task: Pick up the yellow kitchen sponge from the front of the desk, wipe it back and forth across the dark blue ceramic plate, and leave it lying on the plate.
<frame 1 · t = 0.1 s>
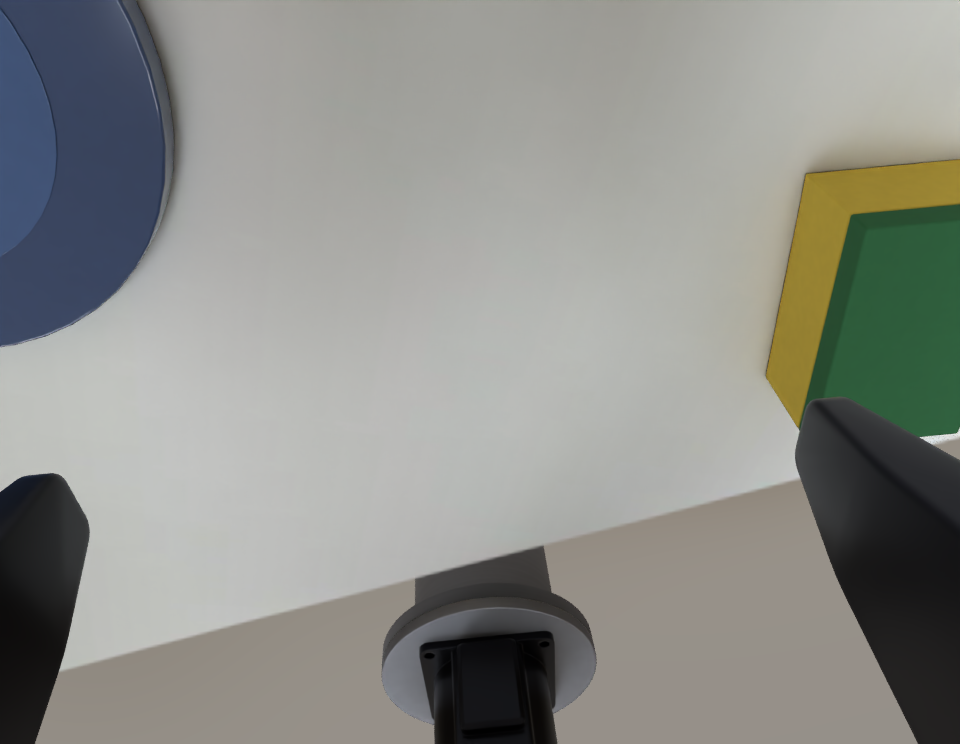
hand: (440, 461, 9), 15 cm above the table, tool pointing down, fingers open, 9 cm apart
sponge: (855, 277, 26), on the table
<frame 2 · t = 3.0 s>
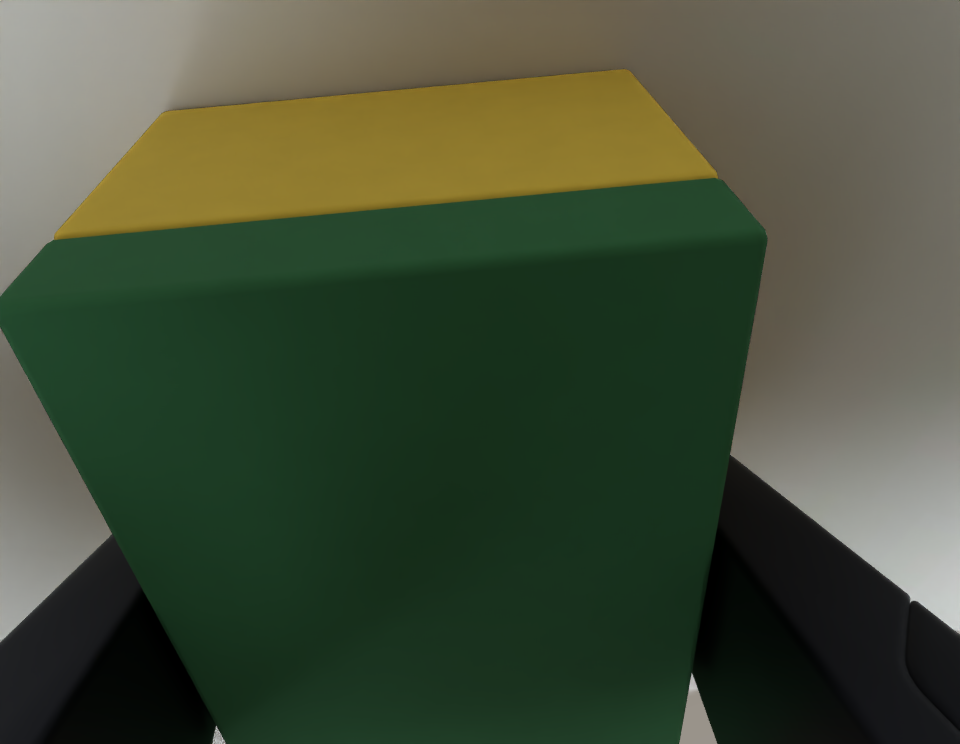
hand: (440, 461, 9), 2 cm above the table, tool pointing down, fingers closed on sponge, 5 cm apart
sponge: (436, 385, 10), on the table, touching gripper
when the fingers open (2 cm above the table, at t = 13.6 s): sponge stays where it is, resting on plate.
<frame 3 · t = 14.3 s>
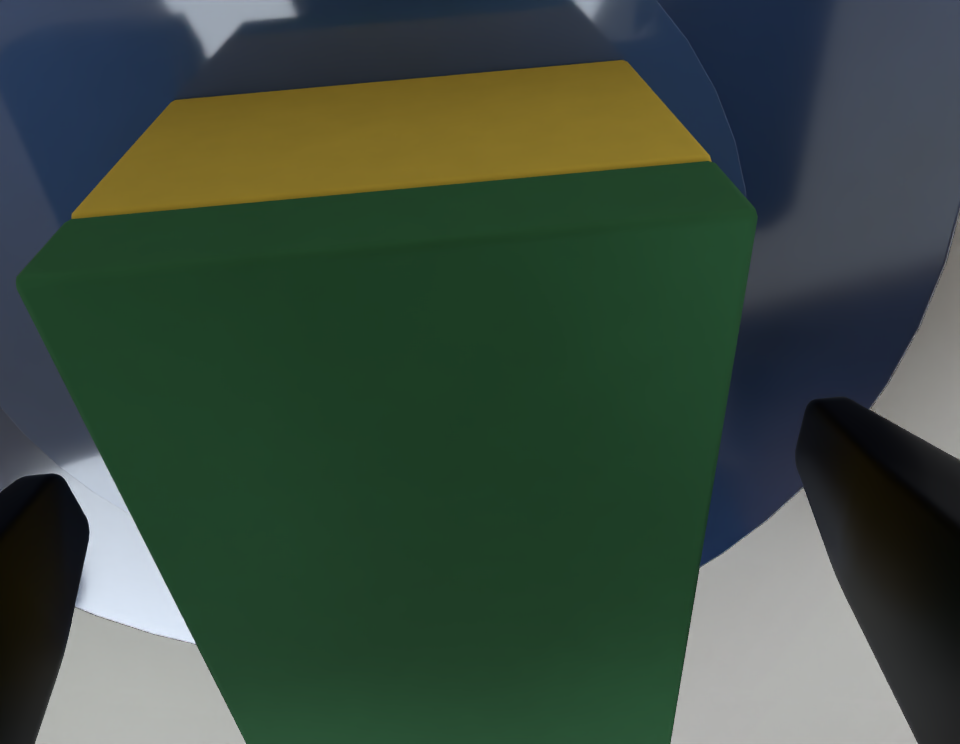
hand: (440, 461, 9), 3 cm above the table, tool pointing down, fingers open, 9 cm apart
plate: (362, 282, 11), on the table
sponge: (437, 372, 10), point 1 cm above the table, touching plate
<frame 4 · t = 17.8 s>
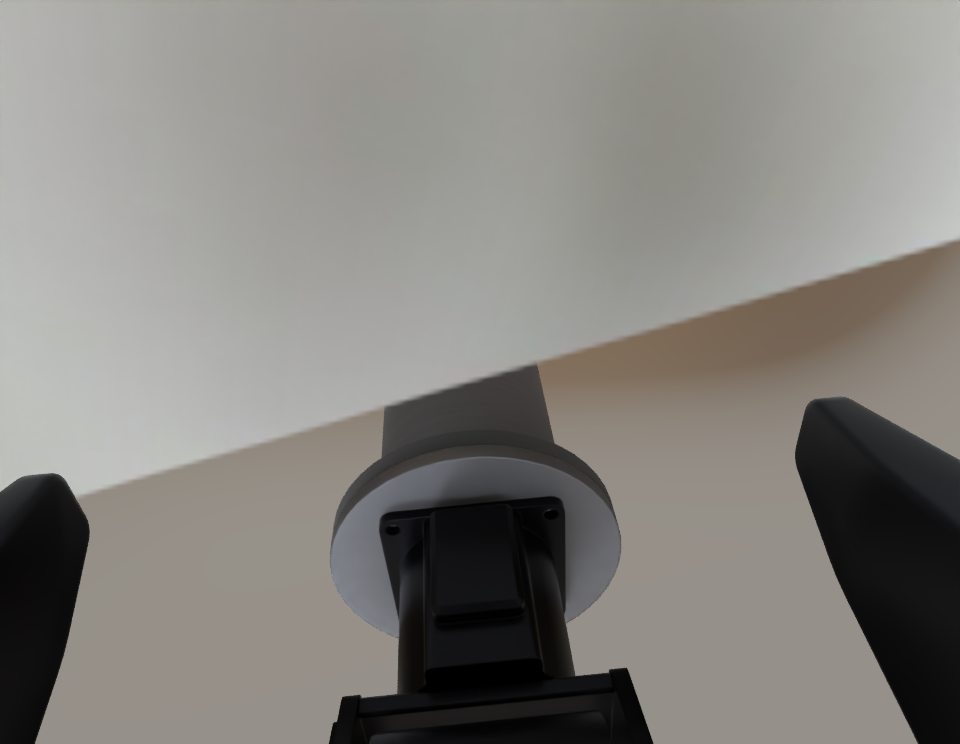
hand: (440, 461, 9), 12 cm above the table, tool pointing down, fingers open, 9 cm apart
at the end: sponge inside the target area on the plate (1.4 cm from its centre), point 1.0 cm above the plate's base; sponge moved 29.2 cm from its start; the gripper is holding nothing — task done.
